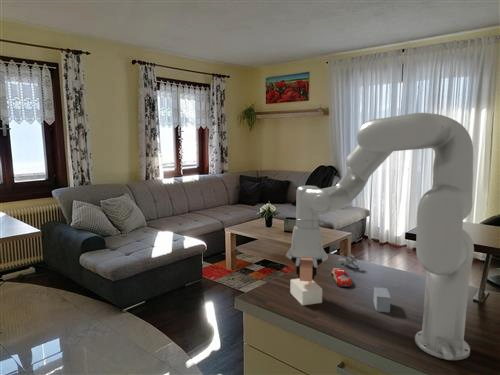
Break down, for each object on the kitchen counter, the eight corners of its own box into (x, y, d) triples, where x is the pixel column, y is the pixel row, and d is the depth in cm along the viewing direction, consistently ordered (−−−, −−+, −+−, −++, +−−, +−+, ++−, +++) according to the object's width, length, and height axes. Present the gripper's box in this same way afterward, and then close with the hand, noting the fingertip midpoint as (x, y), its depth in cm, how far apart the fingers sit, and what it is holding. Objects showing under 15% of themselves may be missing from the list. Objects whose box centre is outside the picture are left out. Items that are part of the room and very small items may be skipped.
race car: (353, 289, 130) (353, 278, 130) (337, 289, 130) (338, 278, 130) (344, 275, 143) (344, 265, 143) (330, 274, 144) (330, 265, 143)
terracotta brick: (312, 281, 119) (312, 268, 117) (299, 280, 120) (299, 267, 118) (312, 270, 125) (313, 257, 124) (301, 269, 126) (301, 256, 125)
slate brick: (389, 312, 112) (390, 297, 112) (376, 311, 113) (377, 296, 113) (386, 302, 119) (387, 288, 119) (373, 301, 120) (374, 287, 119)
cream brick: (322, 303, 119) (322, 288, 118) (302, 306, 117) (302, 291, 117) (308, 290, 129) (309, 277, 128) (290, 293, 127) (290, 279, 126)
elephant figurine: (352, 262, 157) (365, 261, 149) (346, 274, 155) (358, 274, 147) (334, 248, 156) (346, 247, 148) (328, 260, 154) (340, 259, 145)
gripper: (333, 222, 121) (331, 274, 124) (283, 219, 125) (282, 271, 127) (333, 227, 114) (332, 283, 117) (280, 225, 117) (280, 279, 120)
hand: (306, 276), depth 122 cm, fingers closed on terracotta brick, 3 cm apart
